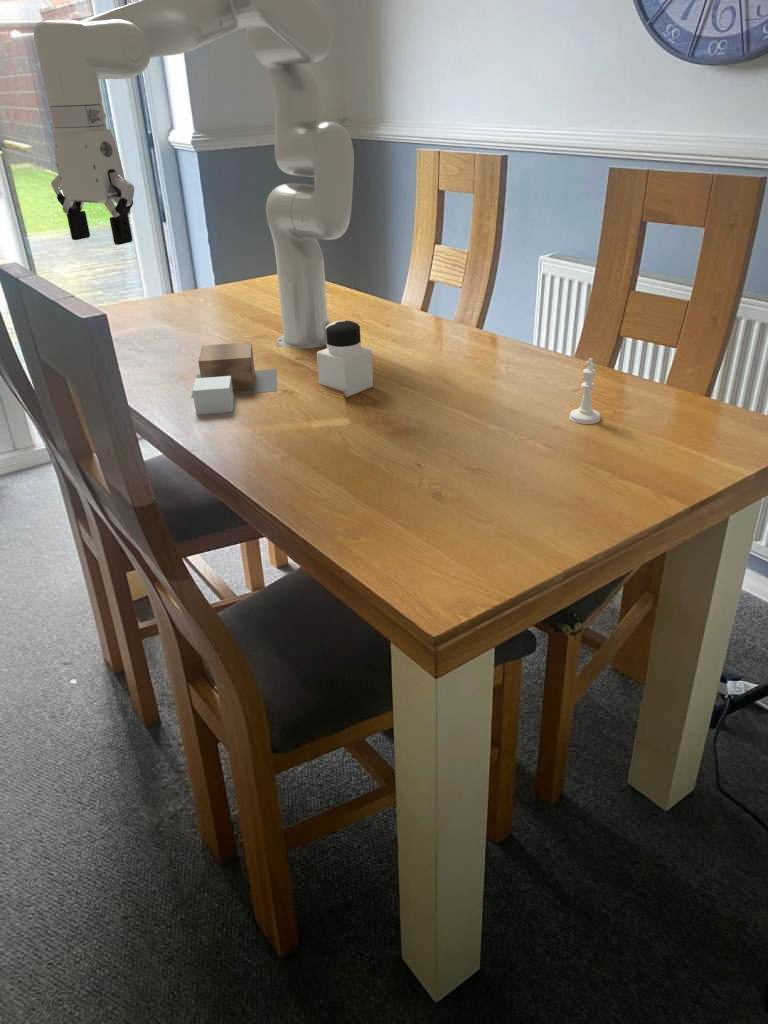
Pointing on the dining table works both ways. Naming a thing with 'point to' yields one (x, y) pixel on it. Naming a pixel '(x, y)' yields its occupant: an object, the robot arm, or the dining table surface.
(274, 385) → the slate board
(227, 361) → the walnut block
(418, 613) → the dining table surface
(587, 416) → the chess piece
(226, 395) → the blue-grey block
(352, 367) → the medicine bottle
